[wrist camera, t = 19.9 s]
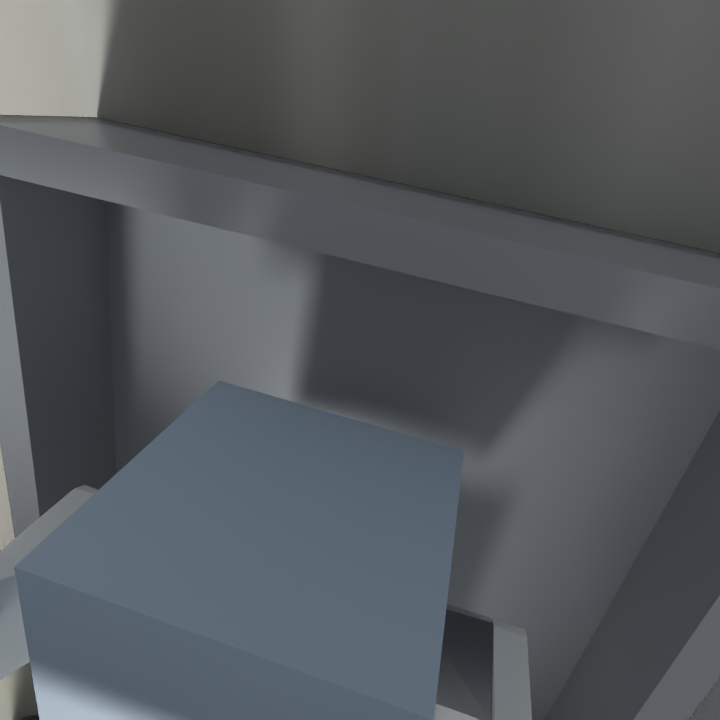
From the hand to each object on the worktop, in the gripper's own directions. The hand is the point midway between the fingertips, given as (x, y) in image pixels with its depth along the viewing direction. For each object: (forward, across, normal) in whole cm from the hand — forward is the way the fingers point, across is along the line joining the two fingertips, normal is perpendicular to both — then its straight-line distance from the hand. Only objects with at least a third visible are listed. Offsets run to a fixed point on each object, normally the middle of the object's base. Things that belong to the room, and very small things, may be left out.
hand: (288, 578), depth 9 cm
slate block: (+2, 0, 0) cm, 2 cm away
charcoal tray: (+5, 0, +4) cm, 6 cm away
